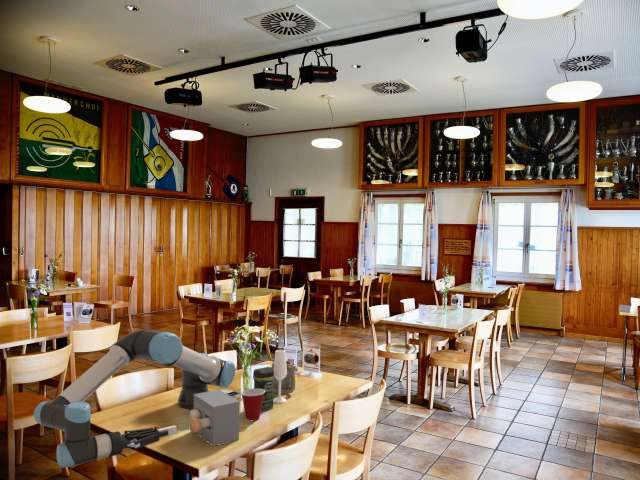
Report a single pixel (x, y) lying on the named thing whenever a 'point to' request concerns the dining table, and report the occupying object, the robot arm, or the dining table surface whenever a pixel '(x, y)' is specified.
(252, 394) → the plastic cup
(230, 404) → the block
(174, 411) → the dining table surface
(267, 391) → the coffee jar
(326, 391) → the dining table surface
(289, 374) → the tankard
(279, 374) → the champagne flute
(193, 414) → the ivory knob
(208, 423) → the terracotta knob
